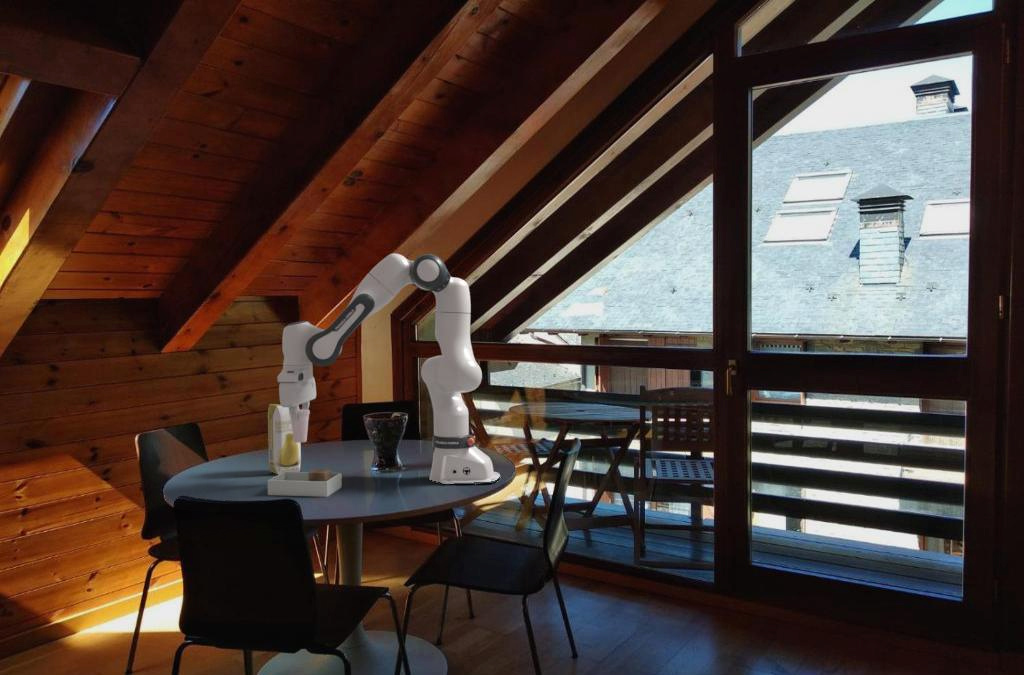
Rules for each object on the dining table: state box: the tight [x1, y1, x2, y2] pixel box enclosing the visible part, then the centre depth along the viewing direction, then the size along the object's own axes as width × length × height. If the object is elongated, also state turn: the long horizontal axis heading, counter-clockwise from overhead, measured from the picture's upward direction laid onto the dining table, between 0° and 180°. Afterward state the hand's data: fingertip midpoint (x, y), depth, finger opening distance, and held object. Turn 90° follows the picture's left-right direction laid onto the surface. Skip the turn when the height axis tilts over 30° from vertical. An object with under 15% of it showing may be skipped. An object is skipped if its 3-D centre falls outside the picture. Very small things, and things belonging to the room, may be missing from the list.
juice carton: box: [267, 403, 302, 475], centre depth 271 cm, size 9×8×24 cm
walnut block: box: [308, 468, 332, 482], centre depth 242 cm, size 5×5×6 cm
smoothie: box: [289, 405, 311, 443], centre depth 255 cm, size 6×6×14 cm
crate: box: [267, 471, 343, 498], centre depth 242 cm, size 18×12×5 cm, turn 82°
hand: (299, 417), depth 255 cm, fingers closed on smoothie, 6 cm apart
